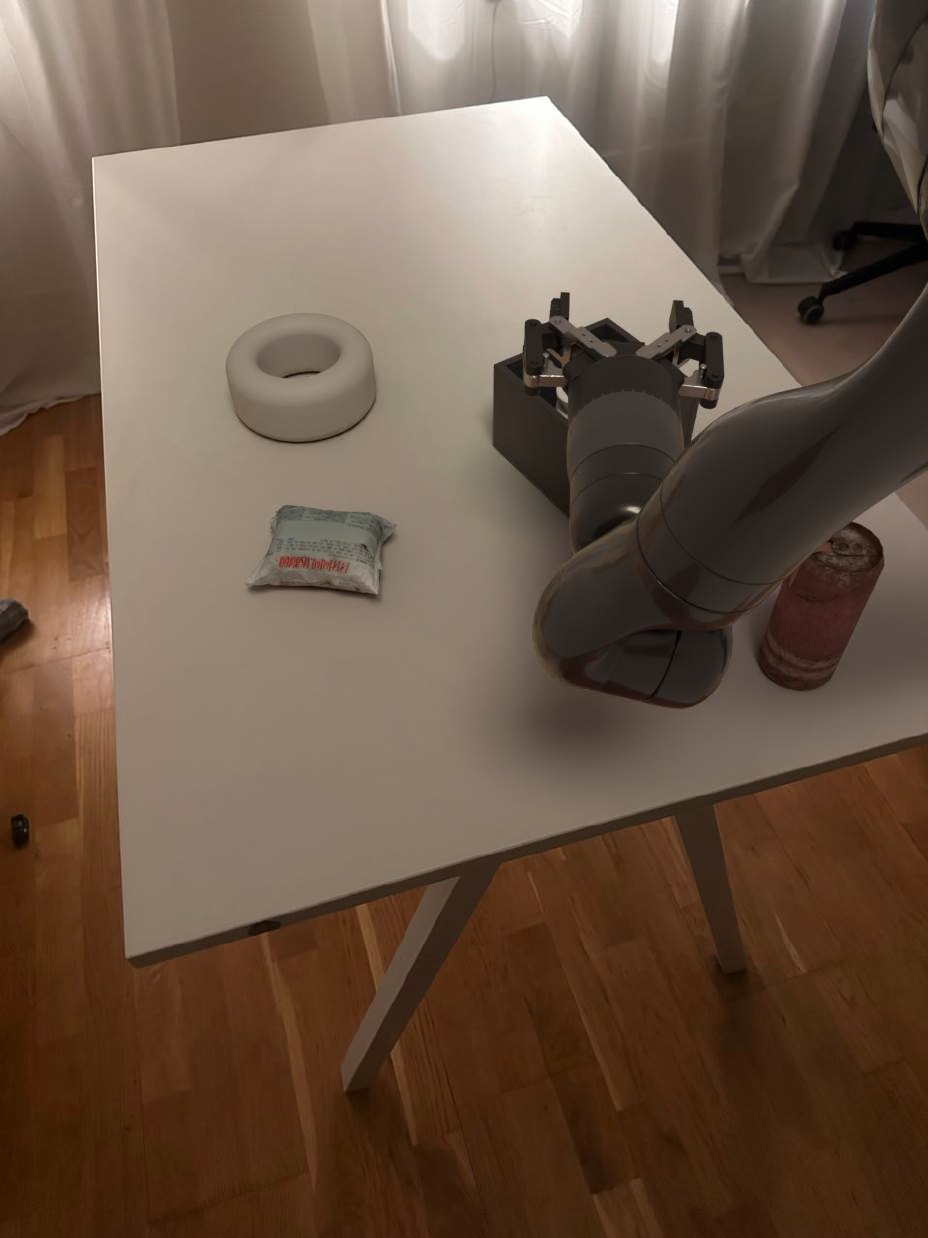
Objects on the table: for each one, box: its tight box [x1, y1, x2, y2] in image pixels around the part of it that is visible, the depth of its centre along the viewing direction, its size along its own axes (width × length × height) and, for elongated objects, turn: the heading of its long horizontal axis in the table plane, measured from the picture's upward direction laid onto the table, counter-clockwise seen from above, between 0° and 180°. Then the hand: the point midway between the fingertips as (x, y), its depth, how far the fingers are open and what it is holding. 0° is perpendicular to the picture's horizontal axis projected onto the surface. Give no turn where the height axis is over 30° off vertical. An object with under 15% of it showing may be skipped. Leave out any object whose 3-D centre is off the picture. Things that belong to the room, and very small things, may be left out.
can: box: [757, 520, 885, 691], centre depth 73 cm, size 6×6×14 cm
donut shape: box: [225, 312, 377, 443], centre depth 99 cm, size 15×15×7 cm
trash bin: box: [492, 317, 700, 519], centre depth 91 cm, size 14×14×10 cm
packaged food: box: [244, 504, 397, 595], centre depth 84 cm, size 9×12×5 cm
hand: (619, 306), depth 73 cm, fingers open, 8 cm apart
